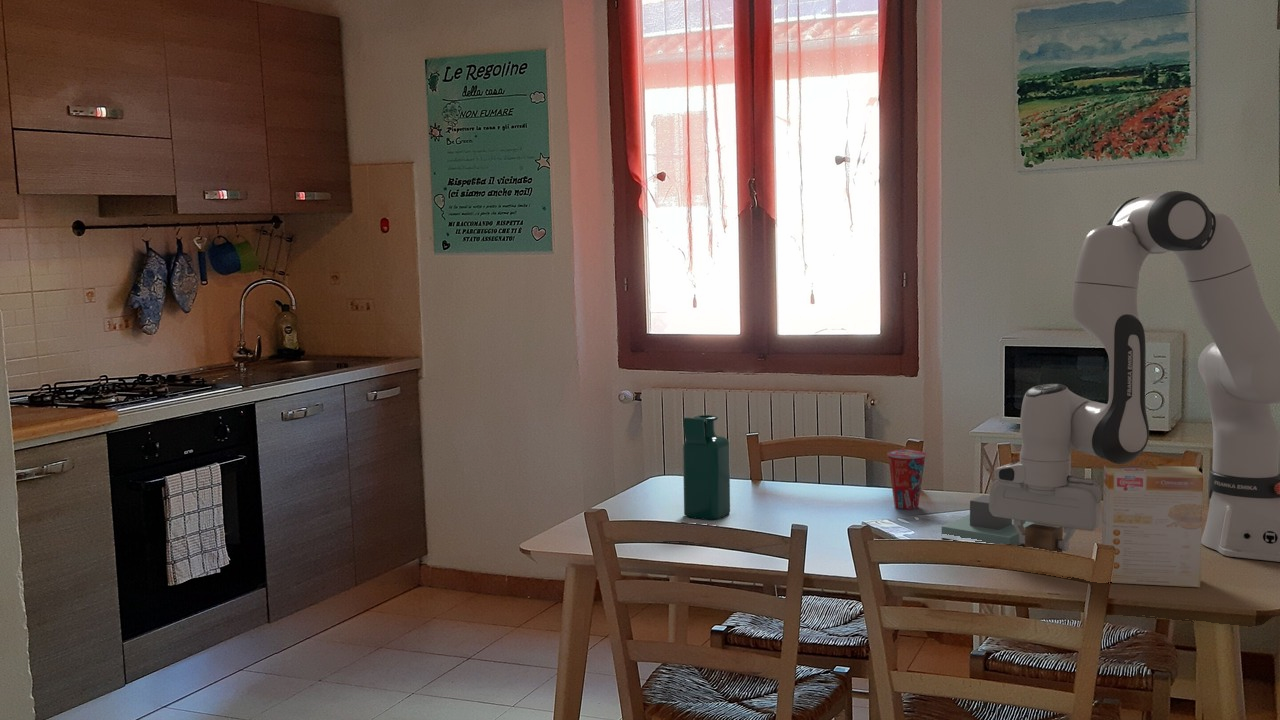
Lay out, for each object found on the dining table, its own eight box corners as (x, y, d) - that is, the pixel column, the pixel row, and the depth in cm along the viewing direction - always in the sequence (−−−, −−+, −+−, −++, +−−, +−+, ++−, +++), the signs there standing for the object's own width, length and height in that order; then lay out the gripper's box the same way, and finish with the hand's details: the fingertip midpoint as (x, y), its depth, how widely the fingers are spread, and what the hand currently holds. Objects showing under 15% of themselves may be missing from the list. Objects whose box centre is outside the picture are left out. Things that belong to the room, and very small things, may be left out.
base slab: (1039, 535, 230) (1039, 522, 230) (1009, 550, 220) (1009, 537, 219) (973, 524, 239) (973, 512, 239) (941, 538, 229) (941, 526, 229)
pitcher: (699, 508, 258) (697, 411, 256) (733, 512, 254) (732, 413, 251) (677, 518, 250) (676, 417, 247) (712, 522, 245) (711, 420, 243)
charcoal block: (1011, 523, 229) (1012, 499, 229) (998, 530, 225) (999, 504, 224) (983, 519, 233) (983, 495, 233) (969, 525, 229) (970, 500, 228)
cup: (934, 508, 254) (934, 454, 252) (901, 512, 250) (901, 458, 249) (909, 500, 262) (909, 447, 261) (877, 504, 259) (877, 451, 258)
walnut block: (1062, 557, 214) (1062, 525, 214) (1051, 563, 211) (1051, 531, 210) (1035, 553, 218) (1036, 521, 217) (1024, 559, 214) (1025, 527, 213)
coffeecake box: (1192, 576, 201) (1196, 465, 199) (1201, 588, 194) (1205, 474, 192) (1100, 571, 205) (1102, 463, 203) (1105, 583, 198) (1108, 471, 196)
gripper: (1108, 477, 208) (1107, 552, 209) (1000, 463, 222) (999, 534, 223) (1095, 483, 203) (1094, 560, 205) (985, 469, 217) (984, 541, 218)
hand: (1043, 546), depth 214 cm, fingers open, 6 cm apart
